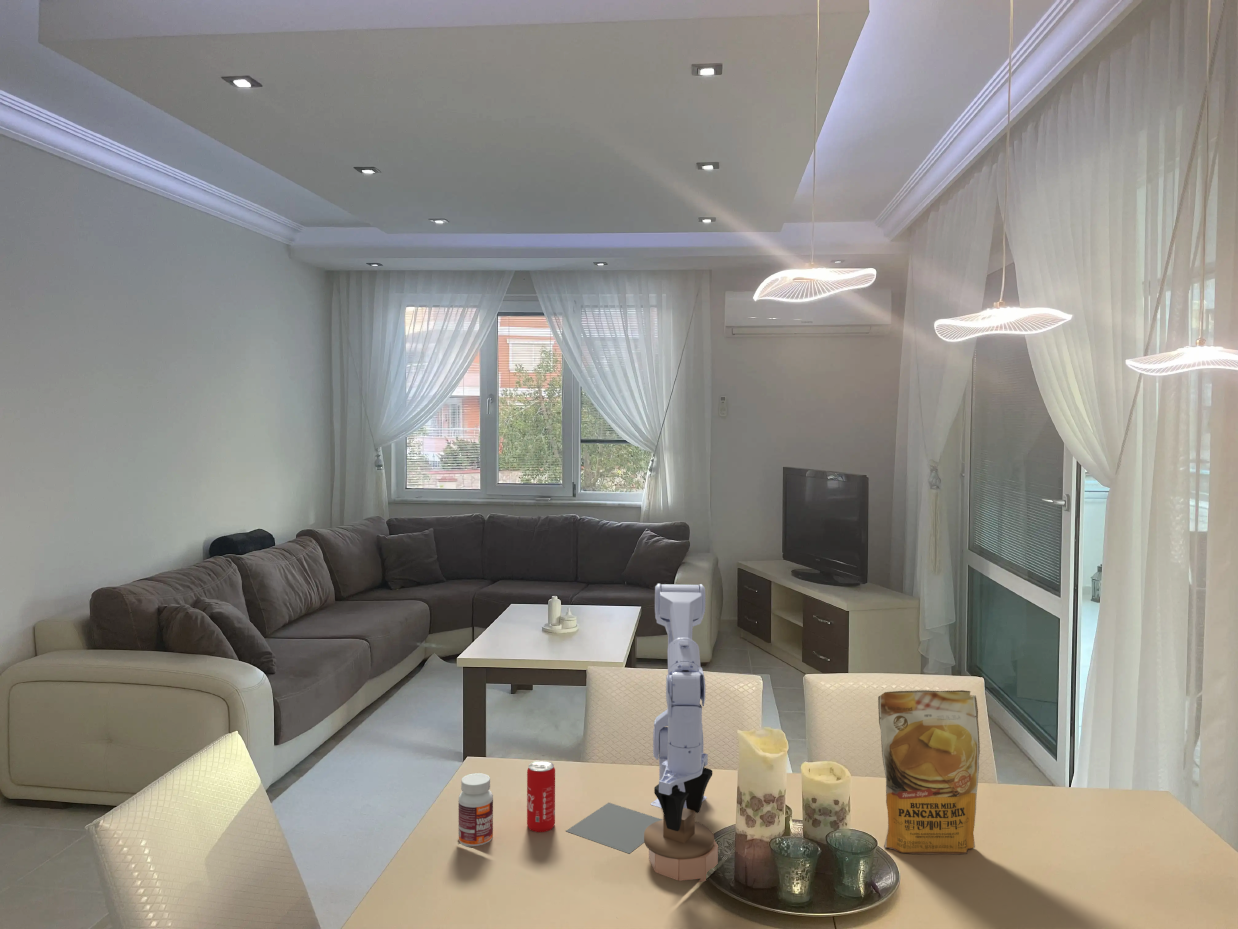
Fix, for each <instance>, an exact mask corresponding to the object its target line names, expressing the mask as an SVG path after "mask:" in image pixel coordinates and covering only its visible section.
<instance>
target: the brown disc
mask: <svg viewBox="0 0 1238 929" xmlns="http://www.w3.org/2000/svg"><path fill="white" fill-rule="evenodd" d="M714 840H715V835H714V832H713V831H712V829H710V828H709V827H708V826H707V825H705V824H703V823H701V822H699V821H696V812H695V811H694V810H690V809H687V808H683V812H682V820H681V826H680V829H679V831H674V830H671V829H667V826H666V822H665V817H664V814H663V818H662V820H660V821H657V822H655V823H653V824H651V825H649V826H648V827H647V828H646V830H645V832H644V843H643V844H644V846H645V847H646V848H647V849H648V851H649V850H651V851H652V852H654V853H655V854H658V855H660V856H663V857H667V858H672V859H692V858H697V857H700V856H703V855H705V854H707V853H709V852H710V851H711V850H712V848H713V846H714Z"/></svg>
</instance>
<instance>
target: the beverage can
mask: <svg viewBox="0 0 1238 929" xmlns="http://www.w3.org/2000/svg"><path fill="white" fill-rule="evenodd" d="M526 777H527V778H526V825H527V827H528V829H529V830H530V831H532V832H536V833H545V832H549V831H551V830H552V829H553V828H554V826H555V824H556V768H555V764H554V763H553V762H552V761H548V760H535V761H532V762H531V763H529V764H528V768H527V771H526Z"/></svg>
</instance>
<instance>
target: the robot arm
mask: <svg viewBox="0 0 1238 929" xmlns="http://www.w3.org/2000/svg"><path fill="white" fill-rule="evenodd" d="M706 602H707V601H706V587H705V586H704V585H703V584H702V583H700V584H676V583H674V584H671V583H670V584H666V583H664V584H661V583H656V585H655V586H654V616H655V617H654V618H655V620H656V624H658V625H661V626H663V627H664V628H665V631H666V633H667V675H666V677H665V699H666V700H665V701H666V707H667V708H666V709H665V710H664V711H663V712H661V713H660V714H659V715H658V716H656V717H655V718H654V719H655V720H654V721H653V734H652V737H653V738H652V744H653V745H652V748H653V749H652V753H653V754H652V755H653V757H654V758H655V760H656V761H657V760H658V761H659V762H658V763H659V764H658V765H659V769H658V770H659V772H658V773H659V774H658V775H659V778H658V779H659V780H658V784H657V785H655V786H654V788H653V789H654V790H653V793H654V795H655V797H656V799H655V800H654V801H652V802H651V803H650V805H651V806H653V807H656V808H660V809H662V813H663V815H664V817H665V822H666V826H667V829H671V830H674V831H679V829H680V826H681V820H682V812H683V808H687V809H690V810H694V811H695V814H698V813H700V812H701V808H702V804H703V801H705V800H707V799H708V797H707V796H706V795H705V792H706V789H707V786H708V783H709V782H710V780H711V777H712V776H713V770H712V769H711V768H707V766H708V763H709V762H708V761H709V760H708V758H709V756H708V753H704V731H703V707H704V706H705V703H706V690H707V689H706V678H705V674H704V671H703V670H704V669H703V667H701V657H700V656H701V655H700V654H701V653H700V646H699V644H698V643H697V642H696V641H695V640H693V628H694V627H695V626H698V625H701V624H702V621H703V619H704V616H705V613H706Z"/></svg>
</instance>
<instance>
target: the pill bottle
mask: <svg viewBox="0 0 1238 929" xmlns="http://www.w3.org/2000/svg"><path fill="white" fill-rule="evenodd" d="M460 783H461V785H460V787H461V788H460V789H461V792H460V794H459V795H458V841H459V843H460V845H462V846H464V847H466V848H471V849H472V848H474V847H475V846H482V845H486V844H488V843H489V842H490V841H491V840H493V838H494V837H493V836H494V794H493V793H492V791H491V790H490V789H491V777H490V776H489V775H488V774H486V773H481V772H477V773H475V772H474V773H470V774H466V775H465V776H463V777H462V778H461V782H460Z"/></svg>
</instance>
